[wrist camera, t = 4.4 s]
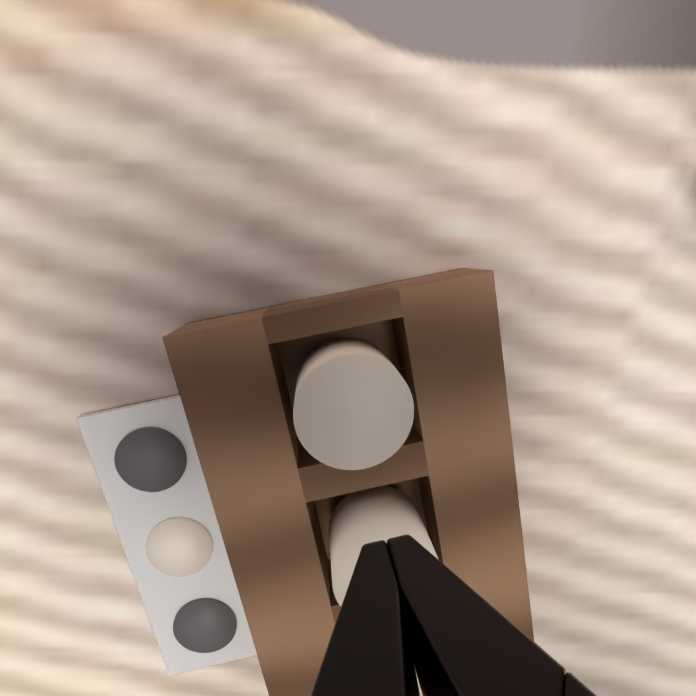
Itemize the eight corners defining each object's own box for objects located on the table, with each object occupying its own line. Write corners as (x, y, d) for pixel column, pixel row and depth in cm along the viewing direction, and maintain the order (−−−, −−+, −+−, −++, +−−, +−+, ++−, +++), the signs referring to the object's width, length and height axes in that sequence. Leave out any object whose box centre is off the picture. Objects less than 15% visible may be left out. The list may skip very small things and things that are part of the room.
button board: (508, 636, 23) (539, 696, 20) (291, 688, 23) (288, 758, 19) (462, 268, 18) (493, 270, 15) (188, 322, 18) (162, 337, 15)
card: (268, 645, 22) (267, 656, 21) (171, 668, 22) (168, 679, 21) (195, 391, 19) (191, 395, 18) (80, 415, 18) (73, 420, 18)
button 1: (403, 422, 17) (422, 456, 14) (307, 443, 17) (307, 481, 14) (387, 328, 16) (403, 343, 14) (286, 349, 16) (280, 369, 13)
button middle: (426, 556, 19) (447, 611, 16) (338, 576, 19) (343, 636, 16) (413, 476, 18) (432, 519, 15) (320, 496, 18) (322, 544, 15)
